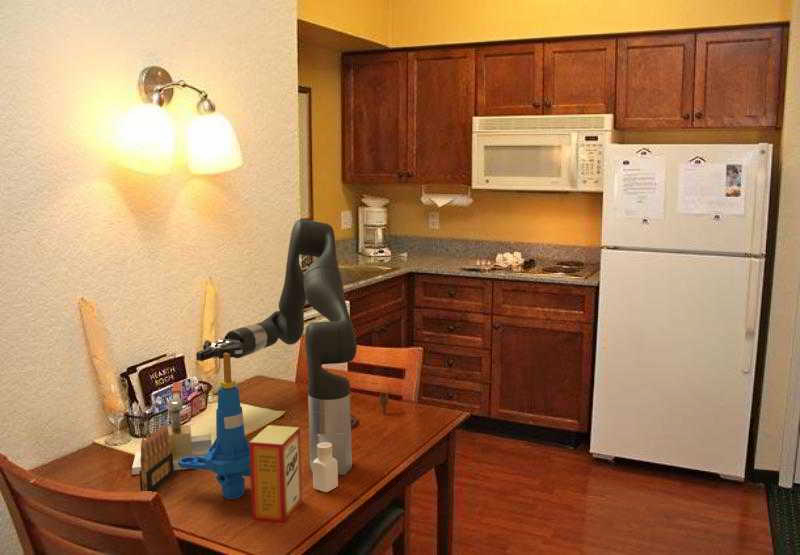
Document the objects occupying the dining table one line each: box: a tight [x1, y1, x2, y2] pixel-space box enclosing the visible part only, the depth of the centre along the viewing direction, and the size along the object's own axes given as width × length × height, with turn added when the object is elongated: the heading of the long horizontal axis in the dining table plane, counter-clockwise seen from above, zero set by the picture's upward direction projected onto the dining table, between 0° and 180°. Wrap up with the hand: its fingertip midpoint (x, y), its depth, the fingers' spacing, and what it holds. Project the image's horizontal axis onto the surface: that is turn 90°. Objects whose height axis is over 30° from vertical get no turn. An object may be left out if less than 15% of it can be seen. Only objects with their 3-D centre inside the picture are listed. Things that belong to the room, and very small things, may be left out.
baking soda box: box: [248, 424, 303, 524], centre depth 144 cm, size 10×6×16 cm
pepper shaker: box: [312, 442, 339, 493], centre depth 154 cm, size 4×4×10 cm
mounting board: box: [131, 451, 204, 475], centre depth 168 cm, size 19×9×2 cm, turn 104°
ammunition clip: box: [139, 422, 175, 492], centre depth 156 cm, size 11×2×12 cm, turn 168°
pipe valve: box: [145, 410, 213, 461], centre depth 167 cm, size 15×6×11 cm, turn 104°
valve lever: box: [166, 381, 184, 412], centre depth 173 cm, size 3×17×2 cm, turn 14°
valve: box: [178, 353, 251, 500], centre depth 150 cm, size 11×17×30 cm, turn 76°
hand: (198, 356), depth 182 cm, fingers closed
